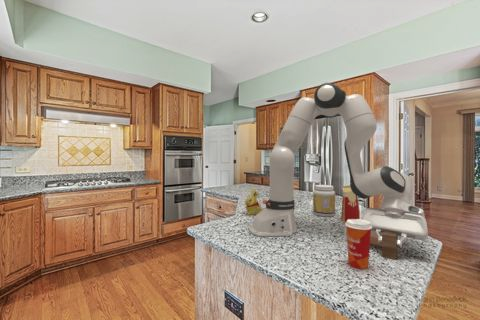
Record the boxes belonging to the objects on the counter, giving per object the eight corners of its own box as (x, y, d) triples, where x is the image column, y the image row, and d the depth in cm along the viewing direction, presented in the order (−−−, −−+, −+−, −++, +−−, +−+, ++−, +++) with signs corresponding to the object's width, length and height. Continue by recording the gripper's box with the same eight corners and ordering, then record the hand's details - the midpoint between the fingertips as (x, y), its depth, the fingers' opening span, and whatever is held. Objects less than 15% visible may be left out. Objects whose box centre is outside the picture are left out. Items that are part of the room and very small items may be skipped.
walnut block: (395, 260, 79) (395, 236, 79) (381, 256, 82) (381, 233, 81) (397, 256, 82) (397, 233, 82) (384, 253, 84) (384, 230, 84)
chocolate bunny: (243, 214, 140) (243, 189, 139) (260, 212, 144) (259, 188, 143) (248, 217, 133) (247, 190, 133) (265, 215, 137) (265, 189, 137)
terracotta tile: (389, 248, 89) (389, 240, 89) (360, 241, 96) (360, 234, 95) (394, 240, 96) (394, 233, 96) (367, 235, 103) (367, 228, 103)
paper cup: (340, 260, 79) (340, 218, 79) (362, 259, 80) (362, 218, 79) (353, 271, 71) (354, 225, 71) (377, 270, 72) (378, 225, 72)
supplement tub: (311, 211, 145) (311, 184, 145) (332, 212, 144) (332, 184, 143) (315, 216, 133) (315, 187, 133) (337, 217, 132) (337, 187, 131)
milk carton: (358, 219, 127) (358, 182, 126) (360, 224, 118) (361, 184, 118) (339, 218, 130) (339, 182, 129) (341, 223, 121) (341, 184, 121)
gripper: (363, 202, 93) (355, 232, 86) (429, 210, 80) (426, 247, 73) (366, 211, 97) (358, 241, 90) (429, 220, 83) (427, 257, 76)
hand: (389, 244), depth 81 cm, fingers closed on walnut block, 4 cm apart
